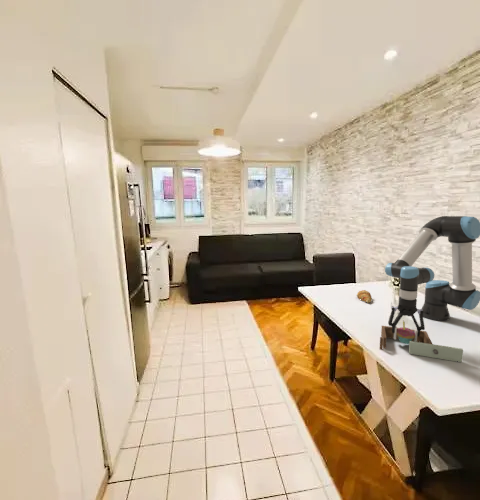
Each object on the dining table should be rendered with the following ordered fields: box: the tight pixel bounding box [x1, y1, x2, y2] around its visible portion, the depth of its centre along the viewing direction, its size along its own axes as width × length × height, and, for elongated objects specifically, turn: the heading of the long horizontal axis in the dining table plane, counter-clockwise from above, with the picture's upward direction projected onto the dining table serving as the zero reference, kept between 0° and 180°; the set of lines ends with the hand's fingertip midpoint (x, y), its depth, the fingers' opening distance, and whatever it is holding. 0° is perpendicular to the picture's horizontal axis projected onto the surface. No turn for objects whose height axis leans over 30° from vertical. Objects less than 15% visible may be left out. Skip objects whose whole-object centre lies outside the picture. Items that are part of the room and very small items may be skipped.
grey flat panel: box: [408, 341, 464, 363], centre depth 124 cm, size 20×3×6 cm, turn 66°
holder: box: [379, 325, 433, 350], centre depth 136 cm, size 22×16×6 cm
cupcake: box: [396, 320, 415, 345], centre depth 135 cm, size 9×8×12 cm
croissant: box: [356, 289, 372, 304], centre depth 204 cm, size 21×10×8 cm, turn 173°
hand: (404, 340), depth 136 cm, fingers closed on cupcake, 8 cm apart
